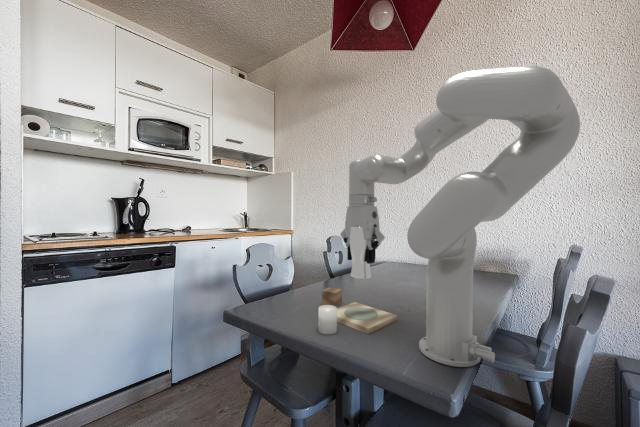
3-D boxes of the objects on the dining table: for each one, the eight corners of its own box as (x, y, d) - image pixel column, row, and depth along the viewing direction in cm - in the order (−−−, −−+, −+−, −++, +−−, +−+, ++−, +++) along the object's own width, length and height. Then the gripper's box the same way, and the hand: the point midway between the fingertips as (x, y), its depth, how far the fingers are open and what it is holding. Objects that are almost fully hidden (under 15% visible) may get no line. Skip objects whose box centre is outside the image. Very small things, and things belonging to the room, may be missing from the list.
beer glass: (372, 279, 78) (372, 227, 78) (348, 278, 79) (348, 226, 79) (372, 274, 84) (373, 226, 84) (350, 273, 86) (350, 225, 86)
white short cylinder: (340, 330, 73) (340, 308, 73) (327, 336, 70) (327, 312, 70) (327, 324, 77) (327, 303, 77) (314, 329, 74) (314, 307, 74)
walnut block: (341, 303, 95) (341, 289, 95) (335, 307, 91) (335, 292, 91) (329, 301, 98) (329, 287, 98) (322, 305, 94) (322, 290, 94)
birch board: (397, 320, 81) (397, 314, 81) (368, 334, 71) (368, 327, 71) (355, 306, 92) (355, 301, 92) (325, 317, 83) (325, 311, 83)
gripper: (393, 201, 78) (393, 264, 78) (347, 202, 91) (347, 256, 91) (378, 200, 73) (377, 267, 73) (332, 201, 85) (331, 258, 85)
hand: (360, 260), depth 82 cm, fingers closed on beer glass, 6 cm apart
